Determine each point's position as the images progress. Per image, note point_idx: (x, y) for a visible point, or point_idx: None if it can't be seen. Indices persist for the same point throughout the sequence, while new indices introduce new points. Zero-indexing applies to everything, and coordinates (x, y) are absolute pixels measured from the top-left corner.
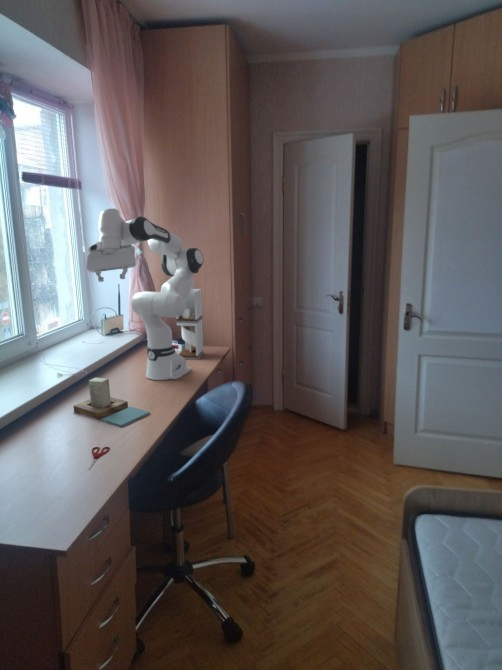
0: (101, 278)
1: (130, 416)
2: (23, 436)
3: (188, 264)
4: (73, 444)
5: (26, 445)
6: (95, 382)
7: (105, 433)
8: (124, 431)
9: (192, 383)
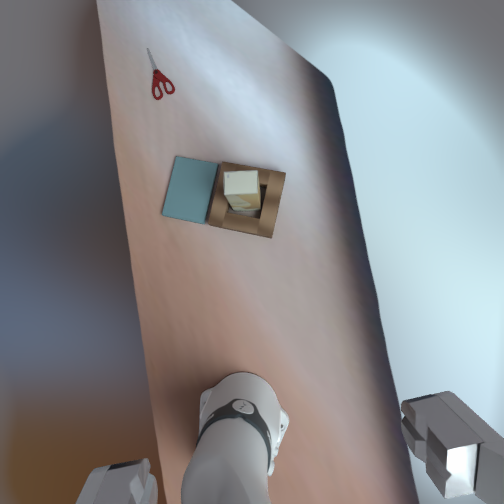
0: (426, 426)
1: (180, 187)
2: (292, 78)
3: None
4: (207, 88)
5: (265, 61)
6: (239, 171)
7: (187, 132)
8: (165, 148)
9: (160, 378)
